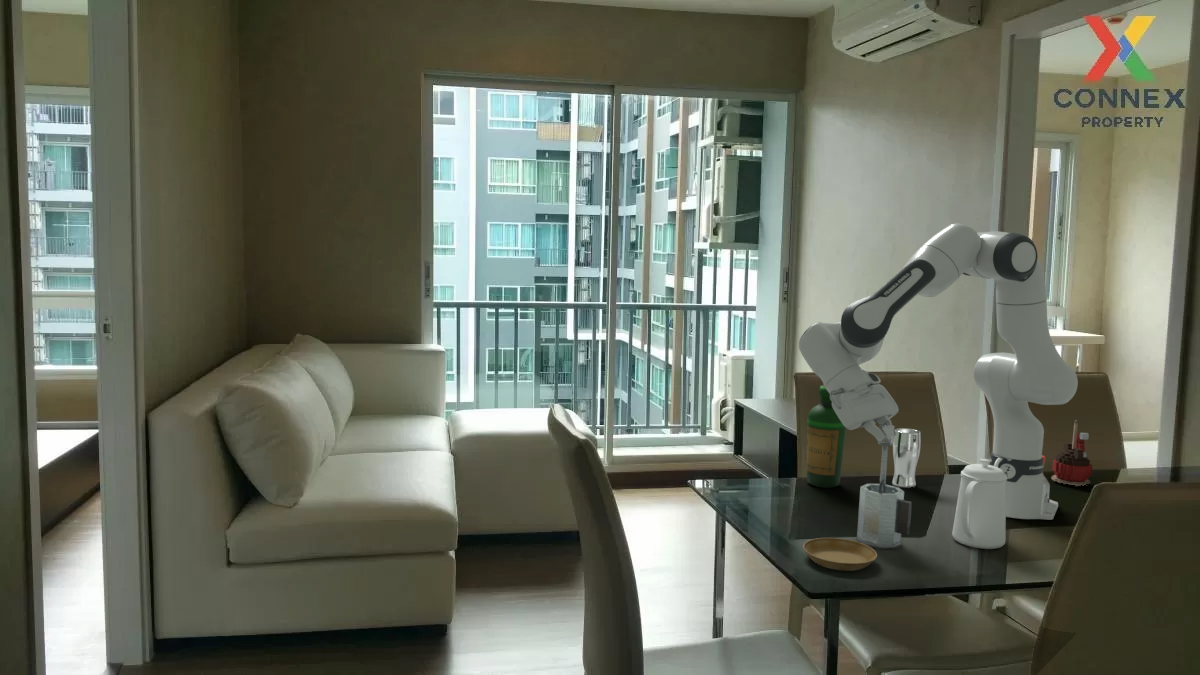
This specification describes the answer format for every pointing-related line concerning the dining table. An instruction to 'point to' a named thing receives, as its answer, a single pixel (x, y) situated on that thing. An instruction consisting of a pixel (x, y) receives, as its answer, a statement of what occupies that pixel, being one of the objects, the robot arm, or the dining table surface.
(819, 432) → the bottle
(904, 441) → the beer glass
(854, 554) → the plant saucer
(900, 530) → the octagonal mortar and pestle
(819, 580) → the dining table surface
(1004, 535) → the coffeepot
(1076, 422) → the cake
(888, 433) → the dumbbell
